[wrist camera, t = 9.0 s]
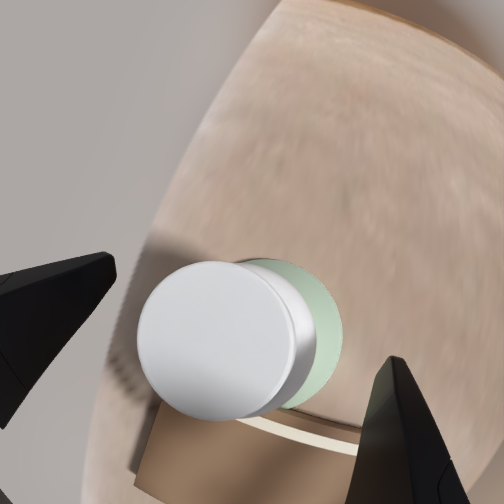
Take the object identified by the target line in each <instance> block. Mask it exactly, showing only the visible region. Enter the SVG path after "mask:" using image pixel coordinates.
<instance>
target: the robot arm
mask: <svg viewBox="0 0 504 504" xmlns="http://www.w3.org/2000/svg"><path fill="white" fill-rule="evenodd" d="M116 277H117V273H116V266H115V259H114V257H113V256H112V255H111V254H109V253H107V252H99V253H94V254H89V255H85V256H80V257H76V258H71V259H67V260H63V261H58V262H54V263H49V264H45V265H41V266H37V267H33V268H28V269H24V270H20V271H16V272H12V273H8V274H4V275H0V428H1V429H4V428H5V427H6V426H7V424H8V422H9V421H10V419H11V418H12V416H13V415H14V413H15V412H16V410H17V409H18V407H19V406H20V405H21V403H22V402H23V400H24V399H25V398H26V396H27V395H28V393H29V391H30V390H31V389H32V388H33V386H34V385H35V383H36V382H37V381H38V379H39V378H40V377H41V375H42V374H43V373H44V371H45V370H46V369H47V367H48V366H49V365H50V364H51V362H52V361H53V360H54V358H55V357H56V356H57V355H58V353H59V352H60V351H61V350H62V348H63V347H64V346H65V345H66V343H67V342H68V341H69V340H70V338H71V337H72V336H73V335H74V334H75V333H76V331H77V330H78V329H79V328H80V327H81V325H82V324H83V323H84V322H85V321H86V320H87V318H88V317H89V316H90V315H91V314H92V312H93V311H94V310H95V308H96V307H97V305H98V304H99V303H100V301H101V300H102V299H103V297H104V296H105V294H106V293H107V292H108V290H109V289H110V288H111V286H112V285H113V284H114V282H115V280H116ZM450 458H451V457H450V455H449V452H448V450H447V447H446V445H445V443H444V440H443V438H442V436H441V433H440V431H439V429H438V427H437V425H436V422H435V420H434V418H433V416H432V414H431V412H430V410H429V407H428V405H427V403H426V401H425V399H424V397H423V395H422V393H421V391H420V389H419V387H418V385H417V383H416V381H415V379H414V377H413V375H412V373H411V371H410V370H409V368H408V366H407V364H406V362H405V360H404V359H403V358H400V357H396V356H389V357H388V358H387V360H386V361H385V363H384V364H383V366H382V367H381V368H380V370H379V371H378V373H377V374H376V377H375V380H374V384H373V388H372V392H371V396H370V400H369V404H368V407H367V411H366V415H365V418H364V422H363V426H362V431H361V436H360V441H359V446H358V451H357V456H356V461H355V465H354V470H353V474H352V478H351V482H350V486H349V490H348V493H347V497H346V501H345V504H470V502H469V500H468V497H467V495H466V493H465V491H464V489H463V486H462V484H461V482H460V479H459V477H458V474H457V472H456V469H455V467H454V464H453V462H452V460H450ZM0 504H13V503H12V502H11V501H10V500H9V499H8V498H7V496H6V495H5V494H4V493H3V492H2V490H1V489H0Z"/></svg>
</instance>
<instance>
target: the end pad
mask: <svg viewBox="0 0 504 504" xmlns="http://www.w3.org/2000/svg"><path fill="white" fill-rule="evenodd" d="M242 263H248V264H253V265H258V266H261V267H264V268H267V269H269V270H271V271H273V272H275V273H277V274H278V275H280V276H282V277H283V278H284V279H286V280H287V281H288V282H290V283H291V284H292V285H293V286H294V287H295V288H296V289H297V291H298V292H299V293H300V294H301V296H302V297H303V299H304V300H305V302H306V303H307V305H308V307H309V309H310V312H311V314H312V317H313V319H314V324H315V328H316V337H317V346H316V354H315V359H314V363H313V366H312V368H311V371H310V373H309V375H308V377H307V379H306V381H305V382H304V384H303V386H302V387H301V388H300V389H299V391H298V392H297V393H296V394H295V395H294V396H293V397H292V398H291V399H290V400H289V401H287V402H286V403H285V404H284V405H282V406H281V407H279V408H282V409H285V410H286V409H289V408H292V407H294V406H297V405H299V404H301V403H303V402H304V401H306V400H308V399H309V398H311V397H312V396H313V395H314V394H316V393H317V392H318V391H319V390H320V389H321V388H322V387H323V386H324V385H325V383H326V382H327V381H328V379H329V378H330V376H331V375H332V373H333V371H334V369H335V367H336V365H337V362H338V359H339V356H340V352H341V347H342V336H343V335H342V324H341V319H340V314H339V312H338V309H337V306H336V304H335V302H334V300H333V298H332V296H331V295H330V293H329V292H328V290H327V289H326V288H325V287H324V285H323V284H322V283H321V282H320V281H319V280H318V279H317V278H315V277H314V276H313V275H312V274H310V273H309V272H307V271H306V270H304V269H302V268H300V267H298V266H296V265H294V264H291V263H288V262H284V261H279V260H273V259H259V260H251V261H246V262H242Z"/></svg>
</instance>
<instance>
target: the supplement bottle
mask: <svg viewBox="0 0 504 504" xmlns="http://www.w3.org/2000/svg"><path fill="white" fill-rule="evenodd" d="M316 346H317V337H316V328H315V324H314V319H313V317H312V314H311V312H310V309H309V307H308V305H307V303H306V302H305V300H304V299H303V297H302V296H301V294H300V293H299V292H298V291H297V289H296V288H295V287H294V286H293V285H292V284H291V283H290V282H288V281H287V280H286V279H284V278H283V277H282V276H280V275H278V274H277V273H275V272H273V271H271V270H269V269H267V268H264V267H261V266H258V265H253V264H248V263H230V262H224V261H203V262H197V263H194V264H190V265H187V266H185V267H182V268H180V269H178V270H176V271H175V272H173V273H172V274H170V275H169V276H167V277H166V278H165V279H163V280H162V281H161V282H160V283H159V284H158V285H157V286H156V288H155V289H154V290H153V291H152V293H151V294H150V295H149V297H148V299H147V300H146V302H145V304H144V307H143V309H142V312H141V315H140V318H139V322H138V328H137V350H138V356H139V360H140V363H141V366H142V369H143V372H144V374H145V376H146V378H147V380H148V381H149V383H150V385H151V386H152V388H153V389H154V390H155V391H156V393H157V394H158V395H159V396H160V397H161V398H162V399H163V400H164V401H165V402H167V403H168V404H169V405H170V406H172V407H173V408H175V409H176V410H178V411H180V412H181V413H183V414H186V415H188V416H191V417H194V418H197V419H201V420H207V421H228V420H234V419H244V418H252V417H257V416H261V415H264V414H267V413H269V412H271V411H273V410H275V409H277V408H279V407H281V406H282V405H284V404H285V403H286V402H287V401H289V400H290V399H291V398H292V397H293V396H294V395H295V394H296V393H297V392H298V391H299V389H300V388H301V387H302V386H303V384H304V382H305V381H306V379H307V377H308V375H309V373H310V371H311V368H312V366H313V363H314V359H315V354H316Z"/></svg>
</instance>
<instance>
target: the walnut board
mask: <svg viewBox="0 0 504 504" xmlns="http://www.w3.org/2000/svg"><path fill="white" fill-rule="evenodd" d="M361 431H362V429H359V428H355V427H351V426H347V425H343V424H339V423H335V422H331V421H327V420H324V419H320V418H317V417H313V416H310V415H307V414H303V413H300V412H297V411H294V410H291V409H286V410H285V409H282V408H277V409H275V410H273V411H271V412H269V413H267V414H264V415H261V416H257V417H252V418H244V419H234V420H228V421H207V420H201V419H197V418H194V417H191V416H188V415H186V414H183V413H181V412H180V411H178V410H176V409H175V408H173V407H172V406H170V405H169V404H168V403H167V402H165V401H164V400H163V399H162V401H161V404H160V407H159V410H158V412H157V415H156V418H155V421H154V424H153V427H152V430H151V433H150V436H149V439H148V442H147V445H146V448H145V451H144V454H143V457H142V460H141V463H140V466H139V469H138V472H137V476H136V479H135V482H134V486H135V487H137V488H139V489H140V490H142V491H144V492H145V493H147V494H149V495H151V496H152V497H154V498H156V499H158V500H160V501H161V502H163V503H165V504H345V501H346V497H347V493H348V490H349V486H350V482H351V478H352V474H353V470H354V465H355V461H356V456H357V451H358V446H359V441H360V436H361Z"/></svg>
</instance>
